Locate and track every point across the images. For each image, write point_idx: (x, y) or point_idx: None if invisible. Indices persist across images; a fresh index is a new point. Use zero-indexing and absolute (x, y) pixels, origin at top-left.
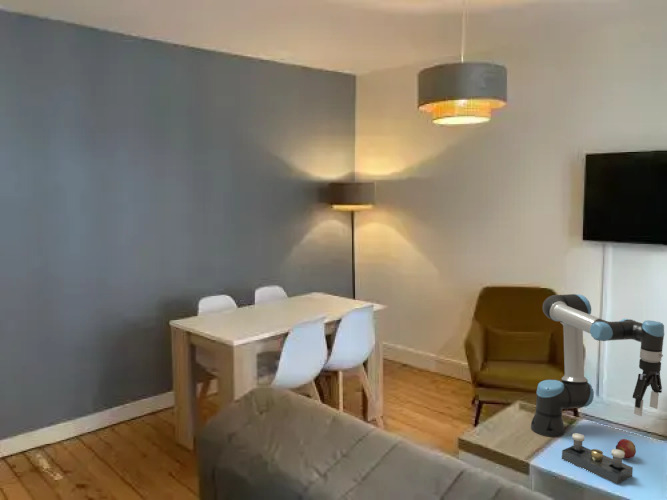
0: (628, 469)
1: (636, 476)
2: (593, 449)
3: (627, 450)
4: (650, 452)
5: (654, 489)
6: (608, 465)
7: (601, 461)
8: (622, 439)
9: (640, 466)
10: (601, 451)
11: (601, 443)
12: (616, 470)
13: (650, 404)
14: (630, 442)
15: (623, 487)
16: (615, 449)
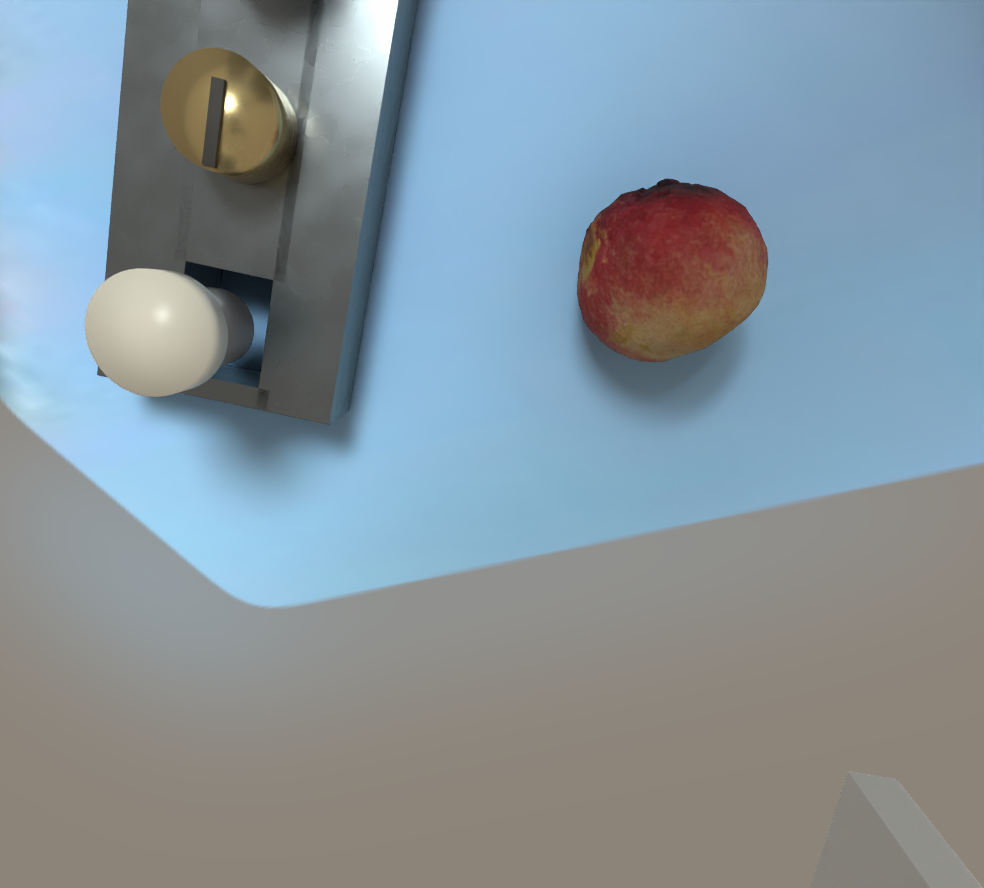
0: (260, 409)
1: (383, 431)
2: (236, 61)
3: (591, 307)
4: (916, 399)
5: (284, 568)
6: (197, 261)
7: (223, 186)
8: (704, 222)
9: (579, 408)
10: (255, 145)
11: (825, 4)
12: None
13: (875, 837)
14: (675, 312)
15: (139, 410)
16: (180, 295)
